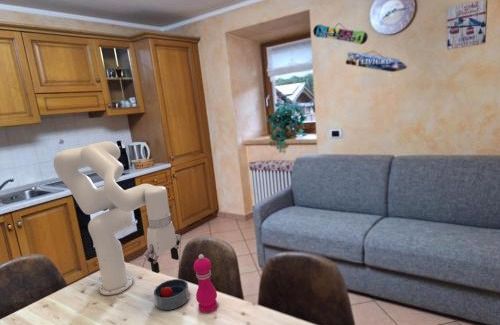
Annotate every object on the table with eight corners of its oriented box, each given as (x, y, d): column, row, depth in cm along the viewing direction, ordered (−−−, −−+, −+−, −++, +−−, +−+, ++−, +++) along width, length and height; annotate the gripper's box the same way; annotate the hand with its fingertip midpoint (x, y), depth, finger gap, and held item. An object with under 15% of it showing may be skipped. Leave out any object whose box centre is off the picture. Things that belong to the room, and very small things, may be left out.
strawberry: (167, 304, 116) (156, 298, 117) (174, 295, 119) (163, 289, 120) (169, 296, 114) (157, 290, 114) (175, 287, 117) (165, 281, 118)
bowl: (148, 306, 115) (146, 293, 114) (172, 288, 125) (170, 276, 124) (173, 314, 109) (171, 301, 108) (196, 294, 119) (194, 282, 118)
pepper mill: (214, 314, 107) (207, 259, 103) (194, 313, 108) (186, 259, 104) (220, 300, 114) (214, 249, 110) (202, 300, 115) (194, 249, 111)
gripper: (169, 211, 120) (174, 252, 124) (132, 229, 106) (140, 275, 109) (184, 214, 116) (189, 256, 120) (148, 232, 102) (155, 280, 105)
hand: (165, 265), depth 115 cm, fingers open, 9 cm apart
